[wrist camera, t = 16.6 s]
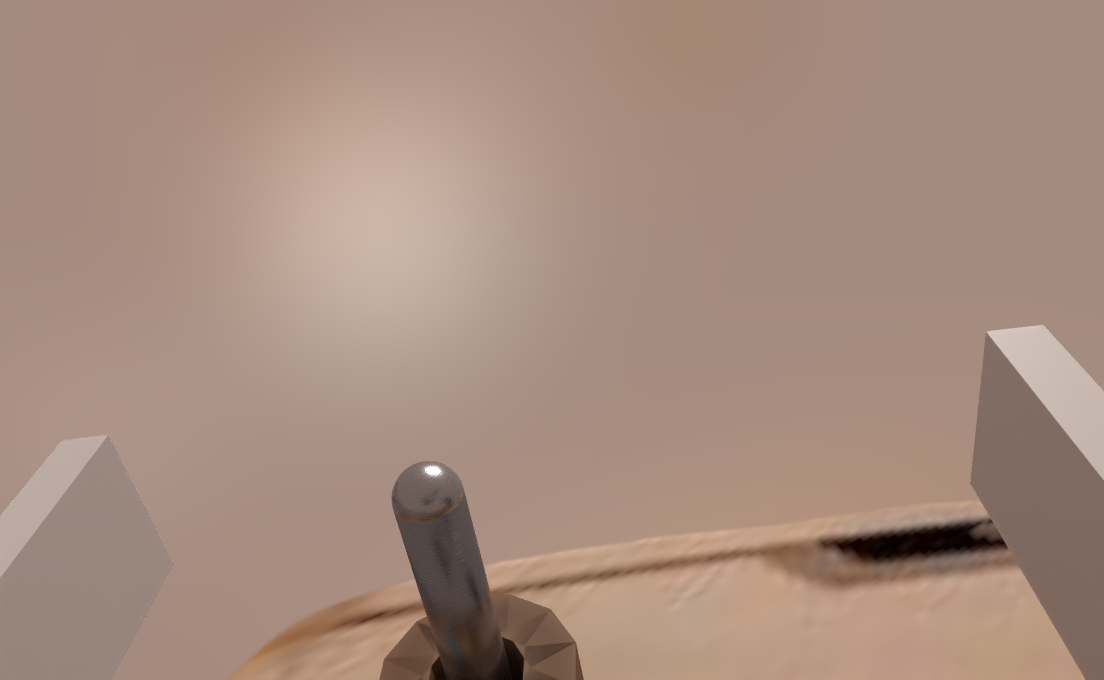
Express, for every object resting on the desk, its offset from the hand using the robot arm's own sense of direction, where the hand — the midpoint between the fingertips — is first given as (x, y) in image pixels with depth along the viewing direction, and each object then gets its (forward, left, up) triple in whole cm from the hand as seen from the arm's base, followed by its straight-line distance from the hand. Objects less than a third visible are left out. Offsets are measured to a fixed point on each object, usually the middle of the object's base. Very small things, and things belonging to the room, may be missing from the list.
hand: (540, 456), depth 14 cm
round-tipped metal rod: (+8, -18, -32) cm, 37 cm away
